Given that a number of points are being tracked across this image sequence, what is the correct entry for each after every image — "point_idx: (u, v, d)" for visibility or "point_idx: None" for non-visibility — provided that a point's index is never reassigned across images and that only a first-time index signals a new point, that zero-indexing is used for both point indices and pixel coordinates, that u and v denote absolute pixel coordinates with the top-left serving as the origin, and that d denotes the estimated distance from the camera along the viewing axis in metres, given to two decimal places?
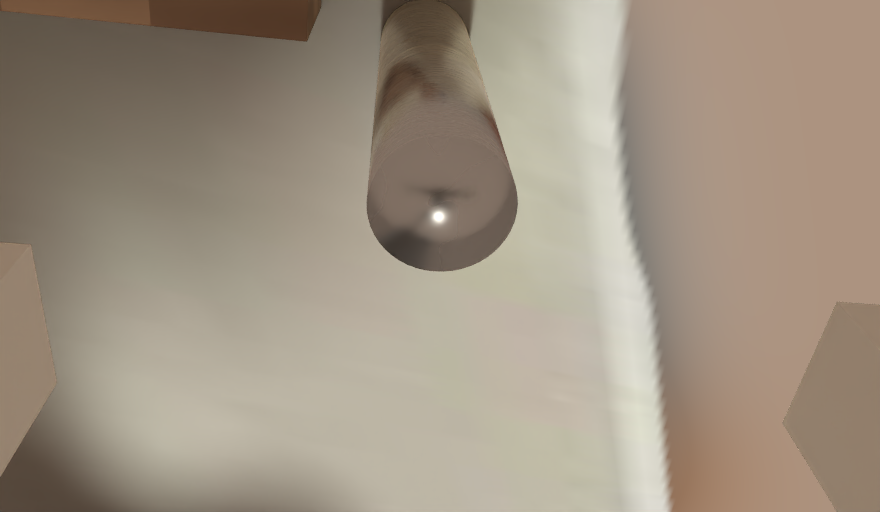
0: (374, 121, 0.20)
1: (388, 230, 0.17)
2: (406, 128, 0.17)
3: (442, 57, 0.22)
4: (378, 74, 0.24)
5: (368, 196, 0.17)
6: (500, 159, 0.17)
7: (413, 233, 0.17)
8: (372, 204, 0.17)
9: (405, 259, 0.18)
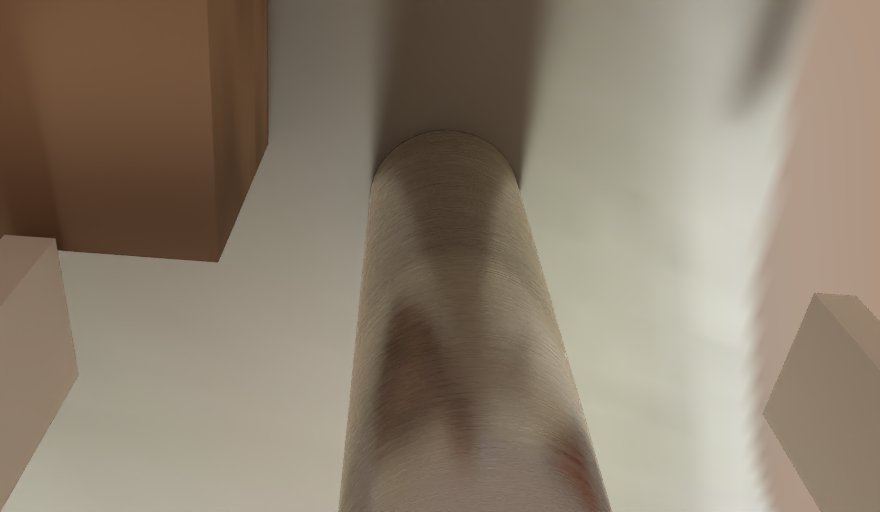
0: None
1: None
2: None
3: (491, 354, 0.10)
4: (358, 321, 0.12)
5: None
6: None
7: None
8: None
9: None
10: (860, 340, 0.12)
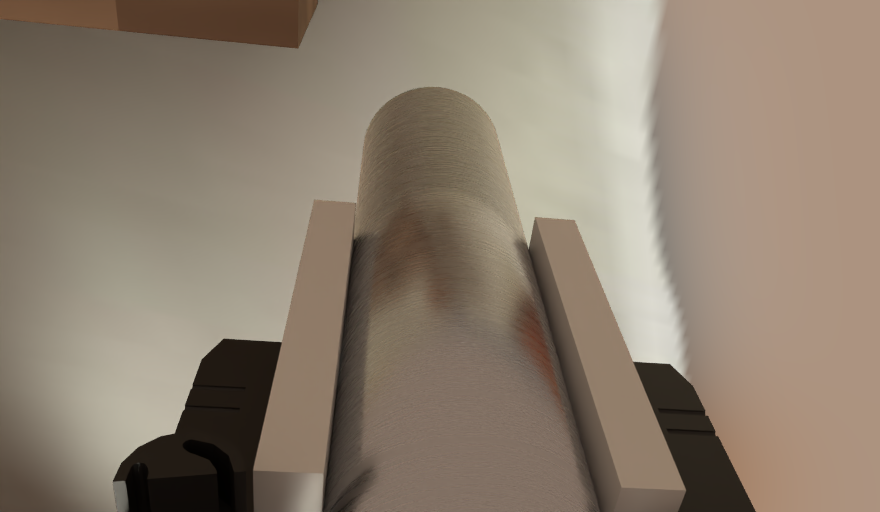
0: None
1: None
2: None
3: (466, 258, 0.11)
4: None
5: None
6: None
7: None
8: None
9: None
10: (552, 253, 0.13)
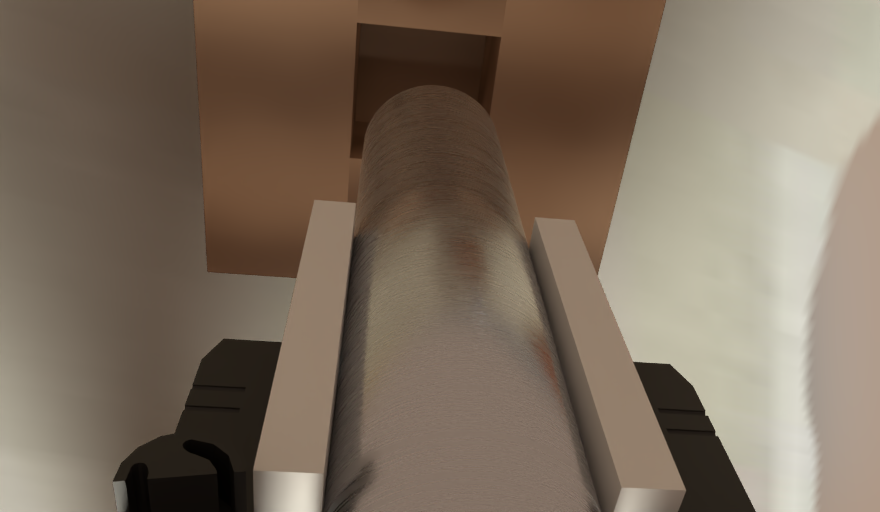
0: None
1: None
2: None
3: (466, 254, 0.11)
4: None
5: None
6: None
7: None
8: None
9: None
10: (551, 253, 0.13)
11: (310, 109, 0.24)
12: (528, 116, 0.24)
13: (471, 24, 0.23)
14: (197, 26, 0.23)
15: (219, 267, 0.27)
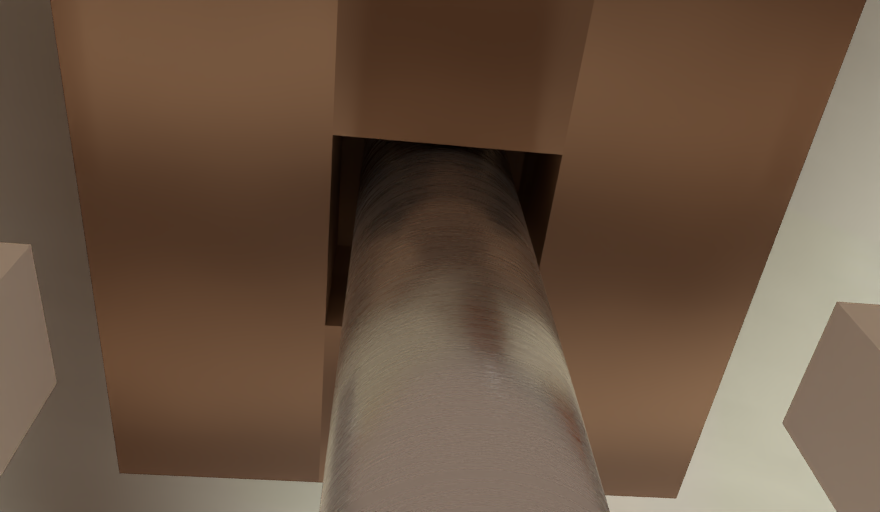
0: (330, 429, 0.10)
1: None
2: None
3: (472, 271, 0.11)
4: (351, 257, 0.13)
5: None
6: None
7: None
8: None
9: None
10: None
11: (262, 259, 0.15)
12: (598, 266, 0.16)
13: (515, 136, 0.14)
14: (74, 142, 0.14)
15: (137, 467, 0.18)
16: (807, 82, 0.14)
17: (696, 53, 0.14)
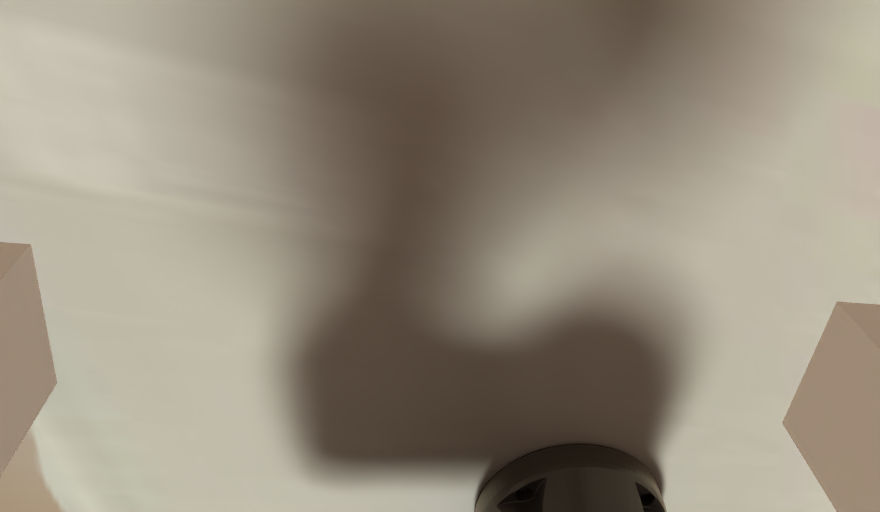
0: None
1: None
2: None
3: None
4: None
5: None
6: None
7: None
8: None
9: None
10: None
11: None
12: None
13: None
14: None
15: None
16: None
17: None
